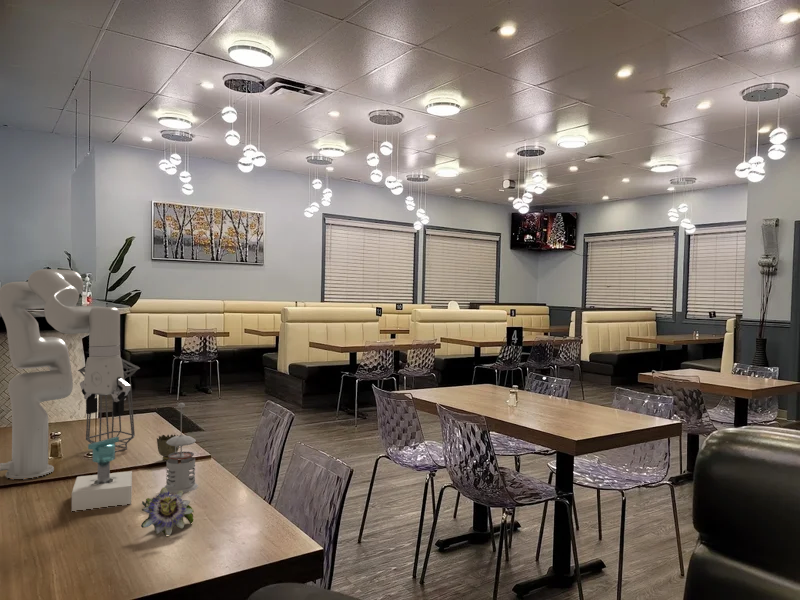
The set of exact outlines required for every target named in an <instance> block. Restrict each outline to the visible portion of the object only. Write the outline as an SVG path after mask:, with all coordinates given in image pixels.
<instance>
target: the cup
mask: <svg viewBox="0 0 800 600" xmlns="http://www.w3.org/2000/svg"><path fill="white" fill-rule="evenodd" d="M175 436H179V434H175V433H174V434H170V435H169V434H167V435H165V434H162V435H158V437H156V445H157V451H158V453H159V455H160V456H161V457H162V460H163V461H164V460H168V459H170V458H168V455H169V454H171V453H175V446H171V445H168V444H167V443H166V442H167V441H168V440H169V439H171V438H172V437H175ZM177 447H180V446H177ZM177 447H176V452H179V448H177Z"/></svg>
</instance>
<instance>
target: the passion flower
mask: <svg viewBox="0 0 800 600" xmlns="http://www.w3.org/2000/svg"><path fill="white" fill-rule="evenodd" d="M164 487H165V486H163V487H162V488H161V489H160V490H159V493H158V495H157V494H156V496H155V497H153V498H149V497H147V498H145V500H144V501H145V502H144V501H143V500H142V501H141V502H142V503H141V504H142V505H143V506H144V507H143V508H142V509H141V511H142V512H144V513H145V514H148V516H147V518H146V519H145V520H143V522H141V524H140V527H141V528H148V527H149V526H151V525H153V526H154V533H155V535H156V536H158V535H160V534H161V533H163V534H164V536H165V535H170V534H171V535H172V531H173V527H177V528H178V529H184V527H185V522H184V518H185V519H186V520H187V521H188V522H189V524H191V523H192V522H194V514H193V513H195V512H194V508H193V507H192V506H191V505H190V503H191V500H189V499H184V498H182V497H183V494H184V493H183V492H182V491H179V492H177V493H170V492H168V491H167V489H166V488H164ZM192 524H193V523H192ZM192 524H191V525H192ZM171 535H170V536H171Z"/></svg>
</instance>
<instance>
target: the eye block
mask: <svg viewBox="0 0 800 600" xmlns="http://www.w3.org/2000/svg"><path fill="white" fill-rule="evenodd" d="M97 480H98V474H92V475H80V476H77V477H76V478H75V482H74V485H73V487H72V492H71V512H72V511H75V512H77V511H76V510H83V511H87V510H86V509H91V510H94V509H93V508H99V509H101V508H100V507H107V508H109V507H108V506H115V507H118V506H117V505H122V506H128V505H127V504H130V505H132V498H133V497H132V493H133V471H132V470H129V471H120V472H119V471H117V472H112V473H111V472H110V483H106V484H97Z"/></svg>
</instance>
